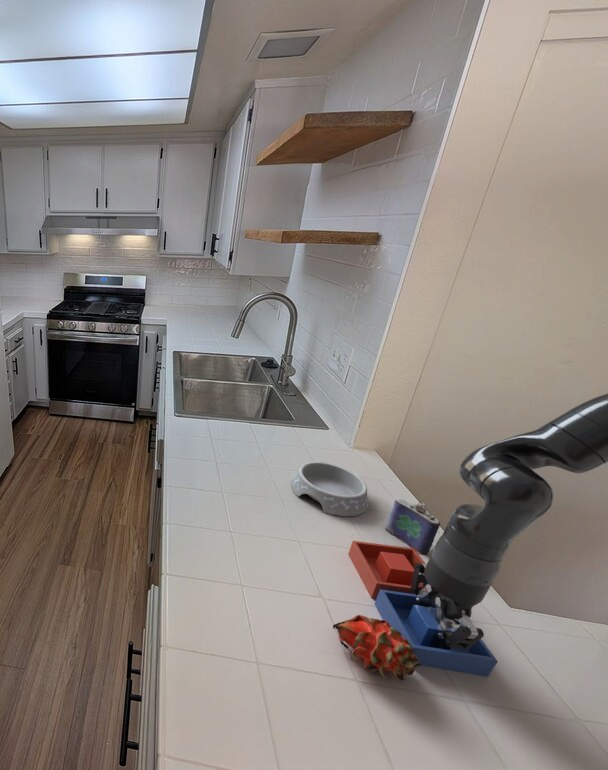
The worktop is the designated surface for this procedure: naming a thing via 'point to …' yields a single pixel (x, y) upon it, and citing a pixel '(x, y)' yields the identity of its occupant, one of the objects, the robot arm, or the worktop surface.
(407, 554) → the red bin
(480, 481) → the robot arm
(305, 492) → the dog bowl
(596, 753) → the worktop surface
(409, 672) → the dragon fruit
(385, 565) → the red block
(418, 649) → the blue bin
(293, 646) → the worktop surface
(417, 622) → the blue block
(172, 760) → the worktop surface
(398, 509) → the flask
